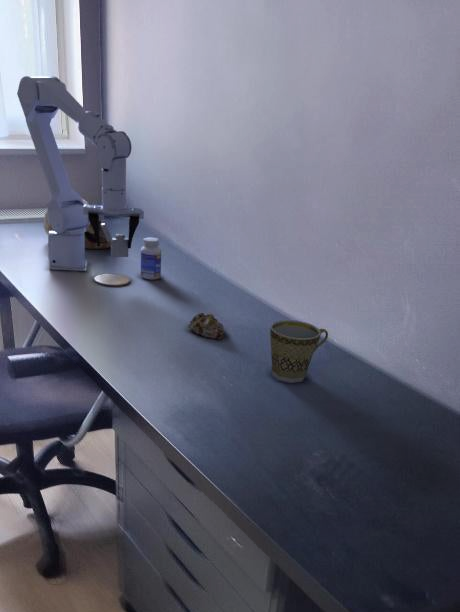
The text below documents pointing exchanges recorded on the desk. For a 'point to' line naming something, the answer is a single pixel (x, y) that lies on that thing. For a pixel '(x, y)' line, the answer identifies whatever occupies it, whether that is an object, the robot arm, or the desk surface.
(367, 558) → the desk surface
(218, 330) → the mineral rock
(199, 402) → the desk surface
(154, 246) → the pill bottle
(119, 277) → the coaster
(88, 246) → the brown skull
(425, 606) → the desk surface
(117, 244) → the lighter
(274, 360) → the ceramic cup
